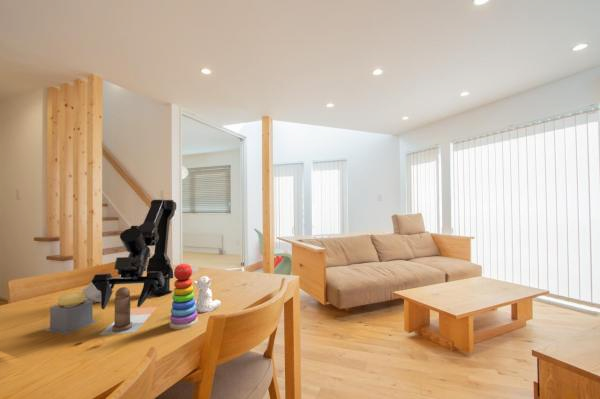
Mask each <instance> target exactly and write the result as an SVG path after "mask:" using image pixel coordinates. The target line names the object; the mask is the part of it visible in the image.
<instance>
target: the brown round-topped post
mask: <svg viewBox="0 0 600 399" xmlns="http://www.w3.org/2000/svg"><path fill="white" fill-rule="evenodd" d="M114 296H115V297H114V322H115V323H114V325H113V326H112V331H113V332H122V331H126V330H129V329H130V328H132V322H130V309H131V291H130V289H129V288H128V287H125V286H124V287H119V288H118V289H117V290H116V291H115V294H114Z"/></svg>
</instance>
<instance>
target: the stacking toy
mask: <svg viewBox="0 0 600 399" xmlns="http://www.w3.org/2000/svg"><path fill="white" fill-rule="evenodd" d="M192 274H193V269H192V266H191V265H190V264H188V263H179V265H177V266H176V267H175V268H174V270H173V277H174V278H175V279H176V280H175V281H174V282H173V286H174V289H173V293H174V294H173V295H172V300H173V301H172V302H171V306H172V307H171V309H170V313H171V316H170V322H169V324H168V326H169V327H170V328H171V329H174V330H183V329H188V328H189V329H190V328H192V327H194V326H195V325H197V324H198V323H199V318H198V313H199V312H197V311H196V306H195V302H196V299H195V298H194V297H195V293H194V286H193V280H192V279H191V276H192Z"/></svg>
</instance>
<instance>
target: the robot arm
mask: <svg viewBox="0 0 600 399" xmlns="http://www.w3.org/2000/svg"><path fill="white" fill-rule="evenodd" d="M176 211H177V202H176V201H174V200H173V199H152V200H151V202H150V206H149V209H148V212H147V213H146V216H145V218H144V221H143V223H142V224H139V225H131V226H130V228H127V229H124V231H122V232H121V233H120V235H119V238H120V241H121V243H122V245H123V246H124V249H125V251H126V252H128V253H129V254H128V255H127V256H126V257H125V256H124V257H123V256H122V257H116V259H115V264H114V268H113V269H114V270H117V274H118V276H119V277H117V276H116V277H115V276H114V277H113V276H112V274H111V273H110V272H107V273H96V274H94V275H93V277H92V279H91V282H92V283H93V284H94V286H95V287H96V289H97V290H99V291H101V303H100V304H101V309H102V310H105V309H106V307H107V305H108V304H109V301H110V299H111V297H112V294H113V292H114V291H112V290H113V289H114V287H115V285H131V284H132V285H133V284H134V285H135V284H143V287H142V289H141V291H140V294H139V297H138V300H137V304H136V306H137V308H141V306H142V305H143V304H144V302H145V301H146V300H147V299H148V298H149V297H150V296H154V297H162V296H165V295H168V294H171V293H173V290H170V287H171V286H170V284H171V283H170V281H171V279H174V270H173V267H172V265H171V264H172V263H171V259H170V257H169V256H168V244H169V233H170V232H169V231H170V223H171V222H170V221H171V220H172V219H173V217H174V216H175V212H176ZM153 246H154V251H153V252H154V254H152V256H151V248H150V247H153ZM147 262H148V263H147ZM147 264H148V265H147ZM146 265H147V266H146ZM145 272H146V275H145V276H143V275H144V273H145ZM91 282H90V283H91Z"/></svg>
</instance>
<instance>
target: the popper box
mask: <svg viewBox="0 0 600 399" xmlns="http://www.w3.org/2000/svg"><path fill="white" fill-rule="evenodd" d="M93 304H94V303H93V302H92V301H87V300H85V301H84V302H82V303H80V305H77V306H74V307H70V308H66V307H64V306H59V305H58V304H56V305H54V306H50V308H49V312H50V313H49V327H48V328H46V329H44V331H45V332H52V333H54V334H55V333H56V334H61V335H67V334H71V333H73V332H76V331H78V330H80V329H83V328H85V327H88V326H90V325H93V324H95V323H97V322H99V320H93V316H94V315H93V312H94V310H93V308H94V307H93Z"/></svg>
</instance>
